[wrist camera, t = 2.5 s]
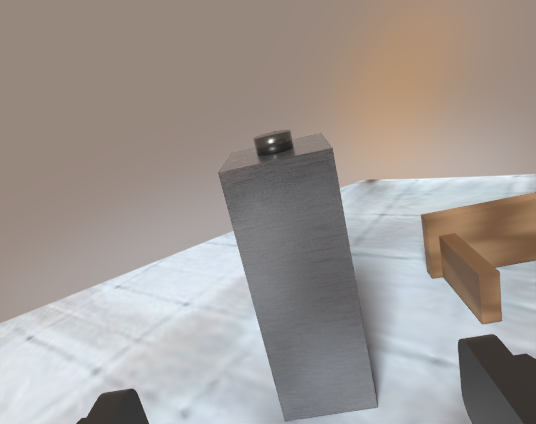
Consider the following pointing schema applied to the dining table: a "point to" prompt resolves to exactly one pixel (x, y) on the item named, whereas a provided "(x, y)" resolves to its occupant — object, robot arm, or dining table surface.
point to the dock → (480, 248)
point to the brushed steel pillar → (300, 272)
